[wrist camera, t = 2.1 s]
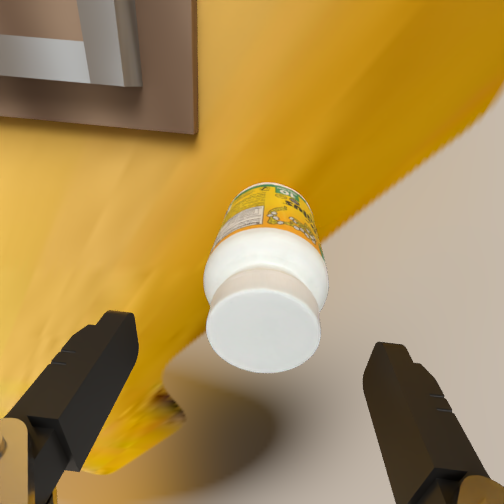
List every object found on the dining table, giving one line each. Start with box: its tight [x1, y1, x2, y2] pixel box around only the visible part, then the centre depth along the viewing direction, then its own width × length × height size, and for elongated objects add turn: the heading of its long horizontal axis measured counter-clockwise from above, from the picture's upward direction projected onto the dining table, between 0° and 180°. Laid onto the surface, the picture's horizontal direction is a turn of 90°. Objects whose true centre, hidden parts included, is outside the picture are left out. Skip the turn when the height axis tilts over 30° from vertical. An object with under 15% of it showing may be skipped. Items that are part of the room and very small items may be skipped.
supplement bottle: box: [204, 182, 329, 373], centre depth 14 cm, size 6×5×10 cm
